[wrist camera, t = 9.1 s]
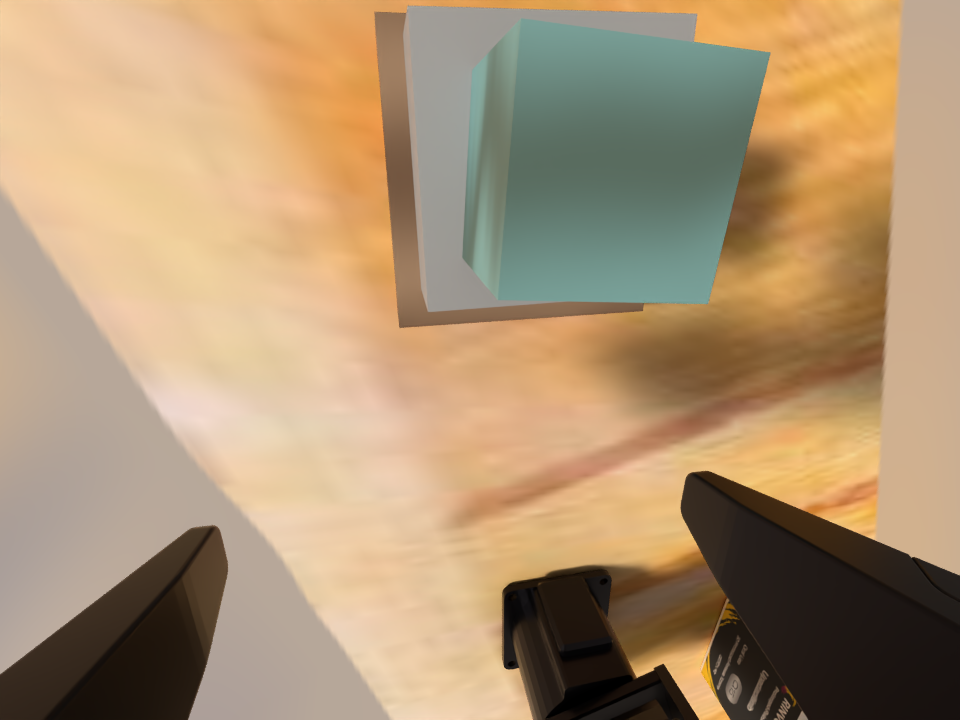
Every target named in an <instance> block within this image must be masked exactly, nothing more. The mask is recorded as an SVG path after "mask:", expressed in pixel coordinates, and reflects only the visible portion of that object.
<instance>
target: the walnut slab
mask: <svg viewBox="0 0 960 720" xmlns="http://www.w3.org/2000/svg"><path fill="white" fill-rule="evenodd" d="M405 19H406V13H391V12H375V31H376V44H377V57H378V69H379V82H380V94H381V107H382V120H383V132H384V145H385V157H386V170H387V182H388V195H389V207H390V220H391V232H392V245H393V258H394V270H395V283H396V295H397V308H398V318H399V327H400V328H404V327H419V326H433V325H448V324H462V323H477V322H491V321H506V320H520V319H535V318H549V317H564V316H578V315H593V314H607V313H622V312H636V311H643V305H644V303H626V302H571V301H568V302H555V303H542V304H529V305H515V306H502V307H489V308H476V309H463V310H450V311H436V312H428V310H427V307H426V303H425V300H424V297H423V293H422V290H421V279H420V265H419V251H418V237H417V224H416V210H415V196H414V182H413V168H412V154H411V140H410V126H409V112H408V98H407V84H406V70H405V56H404V42H403V31H404V25H405Z"/></svg>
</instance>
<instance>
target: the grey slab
mask: <svg viewBox="0 0 960 720" xmlns="http://www.w3.org/2000/svg"><path fill="white" fill-rule="evenodd" d="M521 18H523V19H531V20H538V21H545V22H552V23H560V24H567V25H574V26H581V27H589V28H596V29H603V30H610V31H618V32H625V33H632V34H639V35H647V36H654V37H661V38H669V39H676V40H683V41H690V42H694V36H695V28H696V20H697V14H685V13H650V12H614V11H578V10H543V9H507V8H471V7H436V6H407V13H406V19H405V25H404V31H403V42H404V56H405V70H406V84H407V98H408V112H409V126H410V140H411V154H412V168H413V182H414V196H415V210H416V224H417V237H418V251H419V265H420V279H421V290H422V293H423V297H424V300H425V303H426V307H427V310H428V312H436V311H450V310H463V309H476V308H489V307H502V306H515V305H529V304H542V303H555V302H568V301H516V300H497V299H496V298H495V296H494V295H493V294H492V293H491V292H490V290H489V289H488V288H487V287H486V286H485V284H484V283H483V282H482V281H481V280H480V279H479V277H478V276H477V275H476V274H475V273H474V271H473V270H472V269H471V268H470V267H469V265H468V264H467V263H466V262H465V261H464V259H463V258H462V252H463V233H464V214H465V195H466V177H467V158H468V139H469V120H470V101H471V82H472V70H473V68H474V67H475V66H476V65H477V64H478V63H479V62H480V61H481V60H482V59H483V58H484V57H485V56H486V55H487V54H488V53H489V51H490V50H491V49H492V48H493V47H494V46H495V45H496V44H497V43H498V42H499V41H500V40H501V39H502V38H503V37H504V36H505V35H506V33H507V32H508V31H509V30H510V29H511V28H512V27H513V26H514V25H515V24H516V23H517V22H518V21H519V20H520V19H521Z"/></svg>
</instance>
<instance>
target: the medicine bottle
mask: <svg viewBox="0 0 960 720" xmlns="http://www.w3.org/2000/svg"><path fill="white" fill-rule="evenodd" d="M700 671H701V673H702V675H703V677H704V678H705V680H706V681H707V683H708V684H709V686H710V688H711V689H712V691H713V692H714V694H715V696H716V697H717V699H718V700H719V702H720V704H721V705H722V707H723V708H724V710H725V712H726V713H727V715H728V716H729V718H730V720H808V719H807V717H806V716H805V714H804V713H803V711H802V710H801V708H800V707H799V705H798V704H797V702H796V701H795V699H794V698H793V696H792V695H791V693H790V692H789V690H788V689H787V687H786V686H785V684H784V683H783V681H782V679H781V678H780V676H779V675H778V673H777V672H776V670H775V669H774V667H773V666H772V664H771V663H770V661H769V660H768V658H767V657H766V655H765V654H764V652H763V651H762V649H761V648H760V646H759V645H758V643H757V642H756V640H755V639H754V637H753V636H752V634H751V633H750V631H749V630H748V628H747V627H746V625H745V624H744V622H743V621H742V619H741V618H740V616H739V615H738V613H737V612H736V610H735V609H734V607H733V605H732V604H731V602H730V601H729V599H728V598H727V599H726V602H725V604H724V607H723V610H722V612H721V615H720V618H719V620H718V623H717V625H716V628H715V631H714V633H713V636H712V639H711V641H710V644H709V647H708V649H707V652H706V655H705V657H704V660H703V662H702V665H701V668H700Z"/></svg>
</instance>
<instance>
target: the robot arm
mask: <svg viewBox="0 0 960 720" xmlns="http://www.w3.org/2000/svg"><path fill="white" fill-rule="evenodd" d="M681 514H682V517H683V519H684V521H685V523H686V525H687V526H688V528H689V530H690V532H691V534H692V536H693V538H694V539H695V541H696V543H697V545H698V547H699V549H700V551H701V553H702V554H703V556H704V558H705V560H706V562H707V564H708V566H709V568H710V569H711V571H712V573H713V575H714V577H715V578H716V580H717V582H718V584H719V585H720V587H721V588H722V590H723V592H724V593H725V595H726V596H727V598H728V599H729V601H730V602H731V604H732V605H733V607H734V609H735V610H736V612H737V613H738V615H739V616H740V618H741V619H742V621H743V622H744V624H745V625H746V627H747V628H748V630H749V631H750V633H751V634H752V636H753V637H754V639H755V640H756V642H757V643H758V645H759V646H760V648H761V649H762V651H763V652H764V654H765V655H766V657H767V658H768V660H769V661H770V663H771V664H772V666H773V667H774V669H775V670H776V672H777V673H778V675H779V676H780V678H781V679H782V681H783V683H784V684H785V686H786V687H787V689H788V690H789V692H790V693H791V695H792V696H793V698H794V699H795V701H796V702H797V704H798V705H799V707H800V708H801V710H802V711H803V713H804V714H805V716H806V717H807V719H808V720H960V576H959V575H957V574H954V573H952V572H950V571H947V570H945V569H942V568H940V567H937V566H935V565H933V564H930V563H928V562H925V561H923V560H921V559H918V558H915V557H912V558H911V557H910V556H909V555H908V554H906V553H904V552H901V551H899V550H896V549H894V548H891V547H889V546H887V545H884V544H882V543H880V542H877V541H875V540H872V539H870V538H868V537H865V536H863V535H861V534H858V533H856V532H853V531H851V530H849V529H846V528H844V527H841V526H839V525H837V524H834V523H832V522H829V521H827V520H825V519H822V518H820V517H817V516H815V515H813V514H810V513H808V512H806V511H803V510H801V509H798V508H796V507H794V506H791V505H789V504H786V503H784V502H782V501H779V500H777V499H774V498H772V497H770V496H767V495H765V494H762V493H760V492H758V491H755V490H753V489H750V488H748V487H746V486H743V485H741V484H739V483H736V482H734V481H731V480H729V479H727V478H724V477H722V476H719V475H717V474H715V473H712V472H709V471H700V472H692V473H690V474H688V475H687V477H686V480H685V485H684V490H683V495H682V500H681ZM227 574H228V561H227V557H226V553H225V548H224V544H223V540H222V536H221V532H220V530H219V528H218V527H217V526H215V525H212V526H202V527H195V528H191V529H189V530H188V531H186V532H185V533H184V534H182V535H181V536H180V537H178V538H177V539H176V540H175V541H173V542H172V543H171V544H169V545H168V546H167V547H165V548H164V549H163V550H162V551H160V552H159V553H158V554H156V555H155V556H154V557H152V558H151V559H150V560H149V561H148V562H146V563H145V564H143V565H142V566H141V567H139V568H138V569H137V570H135V571H134V572H133V573H132V574H130V575H129V576H128V577H126V578H125V579H124V580H123V581H121V582H120V583H119V584H117V585H116V586H115V587H114V588H112V589H111V590H109V591H108V592H107V593H106V594H104V595H103V596H102V597H101V598H99V599H98V600H96V601H95V602H94V603H93V604H91V605H90V606H89V607H87V608H86V609H85V610H84V611H82V612H81V613H80V614H78V615H77V616H76V617H74V618H73V619H72V620H70V621H69V622H68V623H67V624H65V625H64V626H63V627H61V628H60V629H59V630H57V631H56V632H55V633H54V634H52V635H51V636H50V637H48V638H47V639H46V640H45V641H43V642H42V643H41V644H40V645H38V646H37V647H35V648H34V649H33V650H31V651H30V652H29V653H27V654H26V655H25V656H24V657H22V658H21V659H20V660H18V661H17V662H16V663H14V664H13V665H12V666H11V667H9V668H8V669H7V670H5V671H4V672H3V673H1V674H0V720H188V718H189V715H190V713H191V710H192V707H193V704H194V701H195V698H196V695H197V692H198V689H199V686H200V683H201V681H202V678H203V674H204V671H205V668H206V665H207V661H208V657H209V653H210V649H211V645H212V640H213V635H214V632H215V627H216V623H217V618H218V614H219V609H220V605H221V601H222V596H223V592H224V588H225V583H226V579H227ZM611 581H612V580H611V577H610V575H609V573H608V572H607V571H606V570H598V571H592V572H586V573H580V574H574V575H568V576H562V577H556V578H551V579H545V580H539V581H533V582H527V583H521V584H515V585H510V586H507V587H506V588H504V590H503V592H502V660H503V664H504V667H505V668H506V669H516V668H519V669H520V673H521V676H522V680H523V684H524V688H525V691H526V695H527V699H528V702H529V706H530V710H531V713H532V717H533V720H699V719H698V717H697V716H696V714H695V712H694V711H693V709H692V708H691V706H690V705H689V703H688V701H687V700H686V698H685V697H684V695H683V694H682V692H681V690H680V689H679V687H678V686H677V684H676V683H675V681H674V679H673V678H672V676H671V675H670V673H669V672H668V670H667V668H666V667H665V665H664V664H662V665H659V666H657V667H655V668H654V671H651V672H649V673H647V674H645V675H642V676H640V677H638V678H637V677H636V675H635V673H634V671H633V669H632V667H631V665H630V663H629V661H628V659H627V657H626V655H625V653H624V651H623V649H622V647H621V645H620V643H619V641H618V639H617V637H616V635H615V633H614V631H613V629H612V627H611V625H610V623H609V621H608V619H607V616H608V607H609V599H610V590H611ZM511 594H512V595H511Z"/></svg>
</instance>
